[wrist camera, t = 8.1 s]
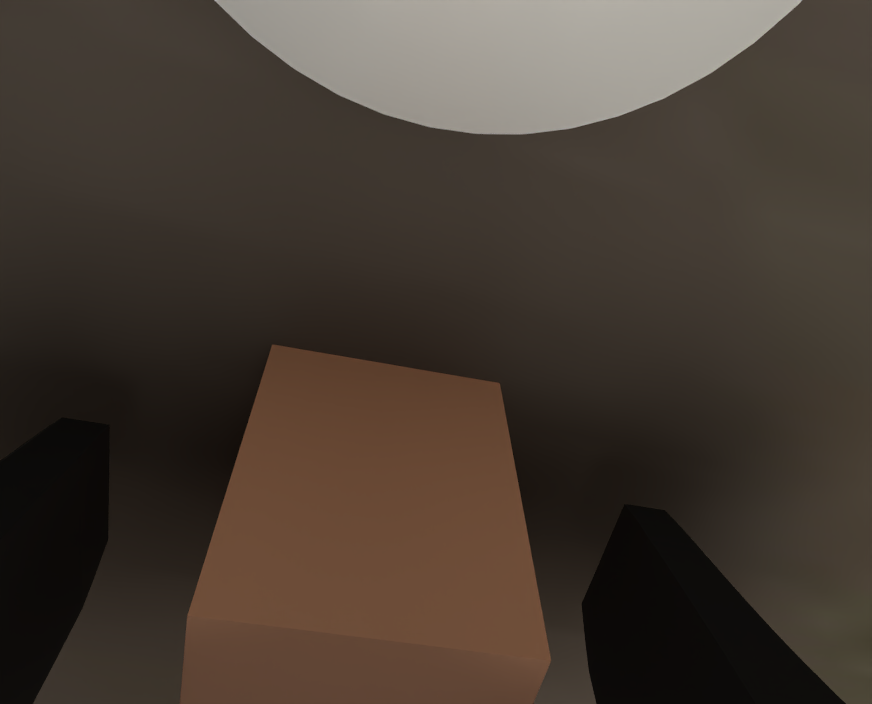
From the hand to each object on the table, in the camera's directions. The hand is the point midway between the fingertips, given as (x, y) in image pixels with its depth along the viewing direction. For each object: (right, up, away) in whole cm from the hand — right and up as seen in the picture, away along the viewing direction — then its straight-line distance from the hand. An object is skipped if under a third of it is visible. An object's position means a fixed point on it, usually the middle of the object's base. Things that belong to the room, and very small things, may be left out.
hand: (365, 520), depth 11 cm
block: (0, +1, +1) cm, 2 cm away
